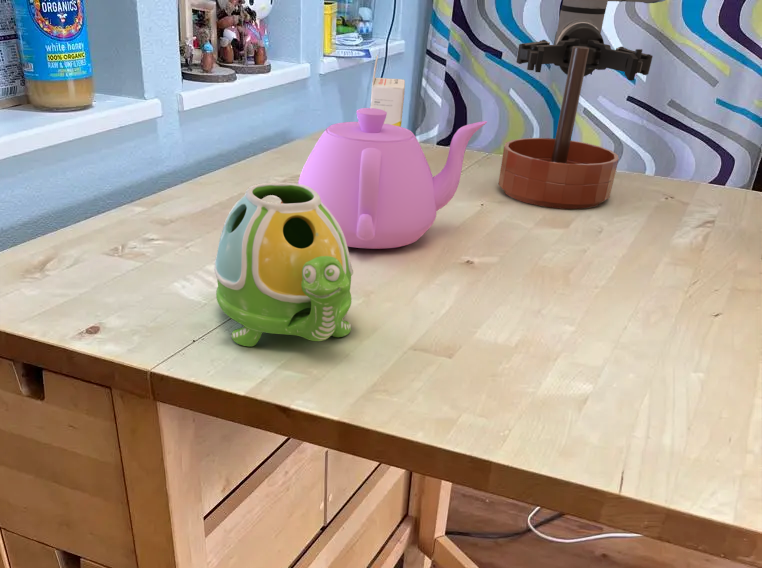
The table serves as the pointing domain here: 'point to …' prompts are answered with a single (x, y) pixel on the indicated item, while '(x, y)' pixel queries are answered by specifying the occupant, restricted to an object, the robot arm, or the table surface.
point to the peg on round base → (570, 103)
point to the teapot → (381, 179)
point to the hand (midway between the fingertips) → (586, 65)
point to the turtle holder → (283, 266)
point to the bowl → (557, 173)
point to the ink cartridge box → (388, 97)
